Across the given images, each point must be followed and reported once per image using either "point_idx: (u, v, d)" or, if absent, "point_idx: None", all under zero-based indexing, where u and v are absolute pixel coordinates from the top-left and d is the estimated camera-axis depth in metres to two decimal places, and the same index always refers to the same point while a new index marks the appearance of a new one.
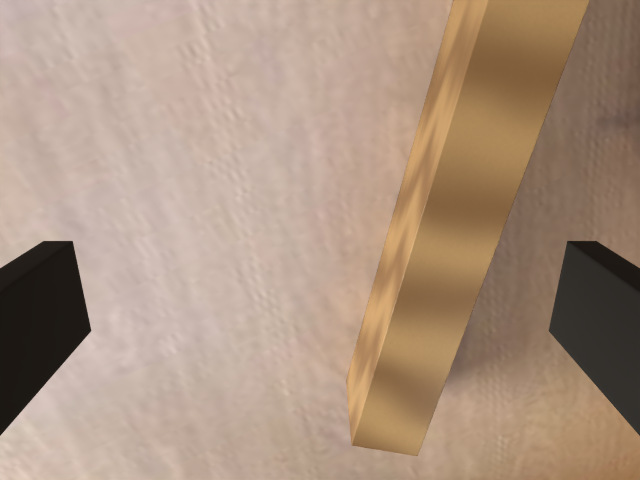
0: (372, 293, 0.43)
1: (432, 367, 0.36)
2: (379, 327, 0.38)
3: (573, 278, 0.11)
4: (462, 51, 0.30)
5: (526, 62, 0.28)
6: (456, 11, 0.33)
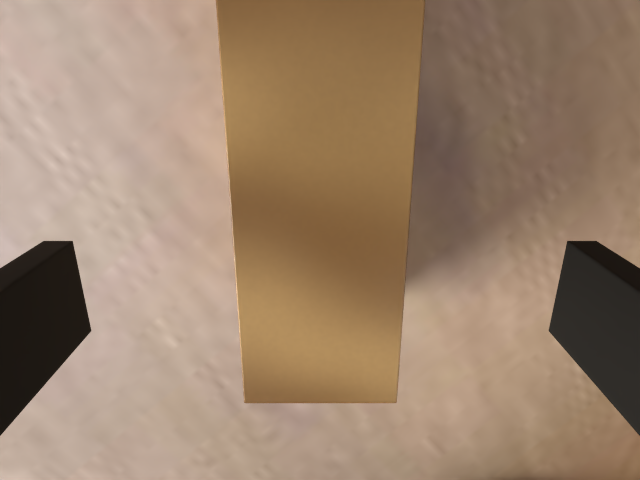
0: None
1: (368, 167, 0.15)
2: None
3: (573, 278, 0.12)
4: None
5: None
6: None
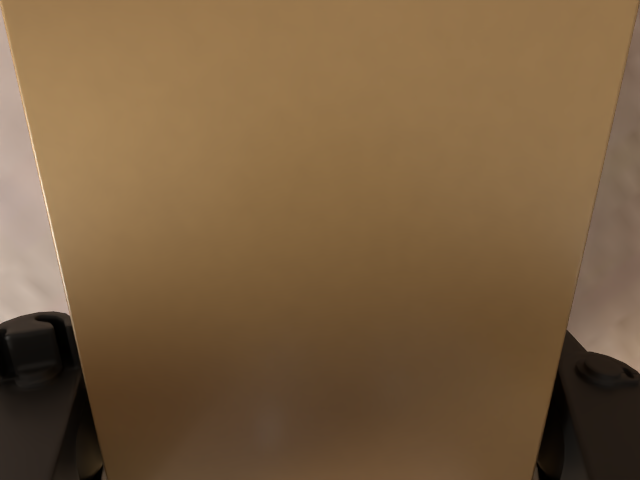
0: None
1: (449, 307, 0.05)
2: None
3: None
4: None
5: None
6: None
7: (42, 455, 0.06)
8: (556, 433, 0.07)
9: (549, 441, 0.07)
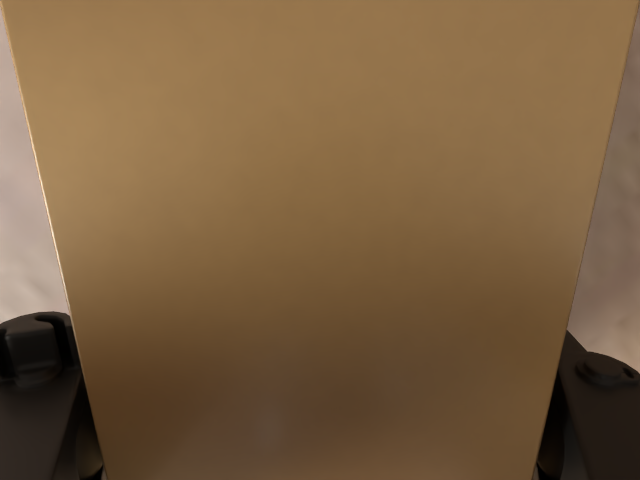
0: None
1: (449, 307, 0.05)
2: None
3: None
4: None
5: None
6: None
7: (42, 455, 0.06)
8: (556, 433, 0.07)
9: (549, 441, 0.07)
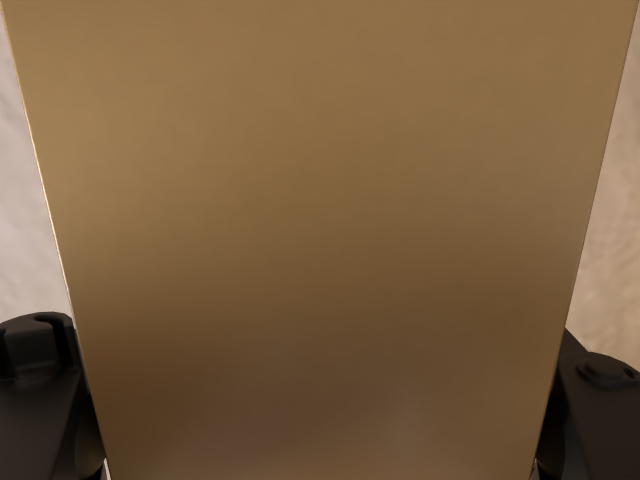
0: None
1: (449, 306, 0.05)
2: None
3: None
4: None
5: None
6: None
7: (41, 455, 0.06)
8: (557, 433, 0.07)
9: (550, 441, 0.07)
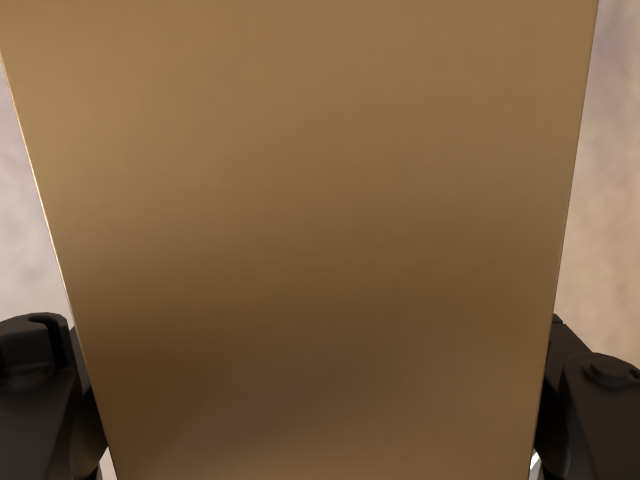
0: None
1: (438, 280, 0.05)
2: None
3: None
4: None
5: None
6: None
7: (36, 456, 0.05)
8: (562, 434, 0.07)
9: (555, 442, 0.07)
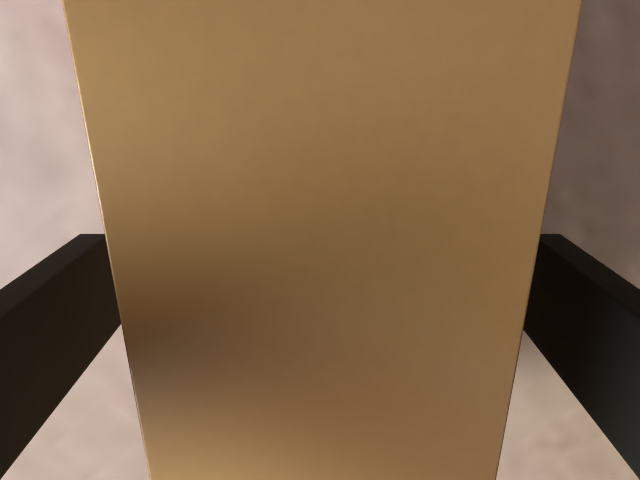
0: None
1: (432, 267, 0.06)
2: None
3: (537, 269, 0.12)
4: None
5: None
6: None
7: None
8: None
9: None
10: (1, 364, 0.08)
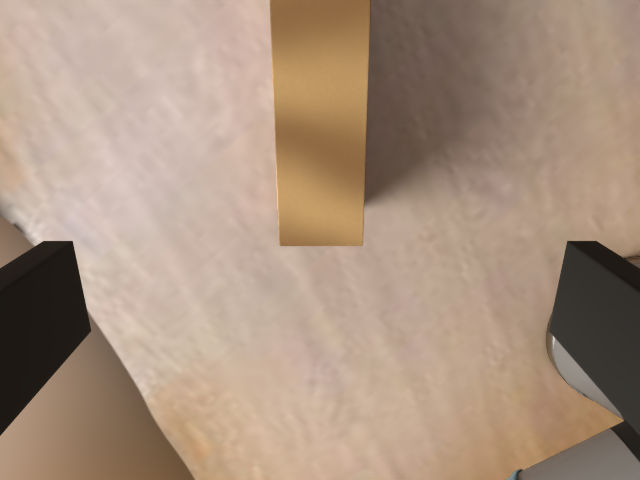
0: None
1: (344, 111, 0.29)
2: None
3: (573, 278, 0.12)
4: None
5: None
6: None
7: None
8: None
9: None
10: None
